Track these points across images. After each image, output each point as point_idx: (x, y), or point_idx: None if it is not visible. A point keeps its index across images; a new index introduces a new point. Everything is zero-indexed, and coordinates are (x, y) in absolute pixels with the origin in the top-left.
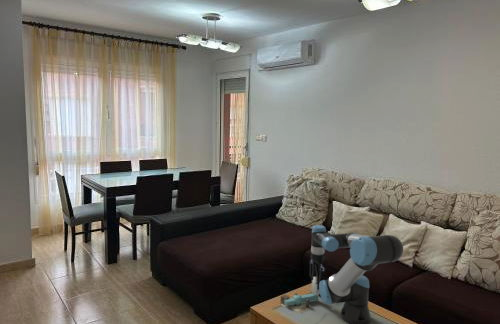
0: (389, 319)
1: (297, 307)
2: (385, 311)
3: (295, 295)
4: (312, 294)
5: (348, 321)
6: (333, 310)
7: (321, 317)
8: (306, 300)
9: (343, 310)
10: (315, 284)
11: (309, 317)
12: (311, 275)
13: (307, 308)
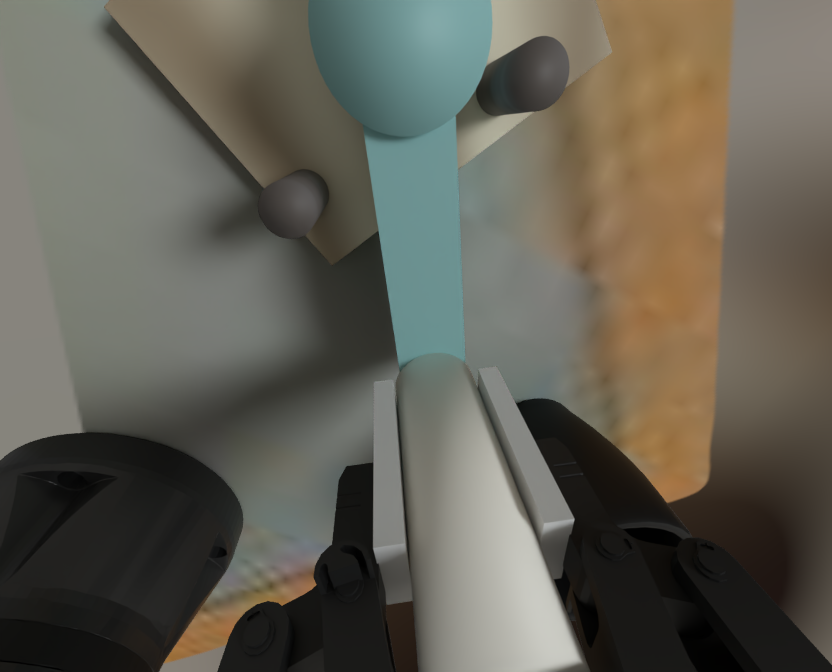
0: None
1: (301, 11)
2: (223, 641)
3: (473, 14)
4: (437, 346)
5: (5, 459)
6: (248, 419)
7: (93, 263)
8: (279, 180)
9: (80, 500)
10: (423, 503)
11: (68, 104)
12: (699, 609)
13: (259, 169)
